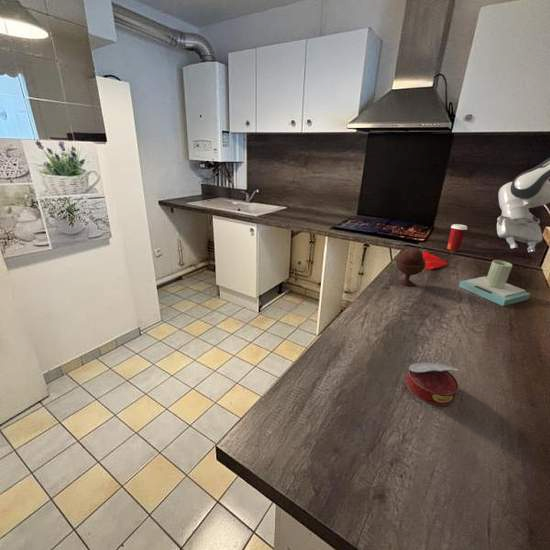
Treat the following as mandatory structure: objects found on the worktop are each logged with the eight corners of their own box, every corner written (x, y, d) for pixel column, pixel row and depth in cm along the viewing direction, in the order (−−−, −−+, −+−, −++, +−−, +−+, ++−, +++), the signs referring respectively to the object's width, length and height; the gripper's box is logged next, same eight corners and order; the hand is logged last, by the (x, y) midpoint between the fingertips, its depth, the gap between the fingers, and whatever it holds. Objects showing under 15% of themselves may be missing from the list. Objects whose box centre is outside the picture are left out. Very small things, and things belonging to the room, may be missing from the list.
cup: (507, 287, 110) (516, 265, 106) (497, 289, 107) (505, 267, 104) (491, 280, 115) (499, 259, 111) (481, 283, 113) (488, 261, 109)
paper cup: (463, 251, 160) (471, 226, 154) (455, 253, 156) (463, 227, 151) (449, 247, 166) (456, 223, 160) (441, 249, 162) (448, 224, 157)
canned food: (408, 409, 65) (393, 373, 63) (417, 379, 73) (404, 345, 71) (466, 416, 58) (451, 375, 56) (470, 382, 65) (457, 344, 63)
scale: (528, 299, 108) (531, 291, 107) (503, 306, 102) (506, 298, 101) (482, 281, 122) (485, 274, 121) (458, 286, 117) (460, 279, 115)
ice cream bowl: (421, 281, 120) (430, 247, 114) (418, 291, 111) (427, 254, 105) (394, 275, 125) (401, 242, 119) (389, 285, 116) (397, 249, 110)
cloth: (445, 273, 129) (447, 268, 128) (412, 266, 136) (413, 261, 135) (448, 257, 150) (449, 253, 149) (419, 252, 156) (420, 248, 155)
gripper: (505, 211, 115) (511, 243, 111) (542, 220, 120) (550, 251, 116) (489, 218, 121) (495, 249, 117) (525, 226, 126) (532, 256, 122)
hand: (523, 250), depth 116 cm, fingers open, 8 cm apart
